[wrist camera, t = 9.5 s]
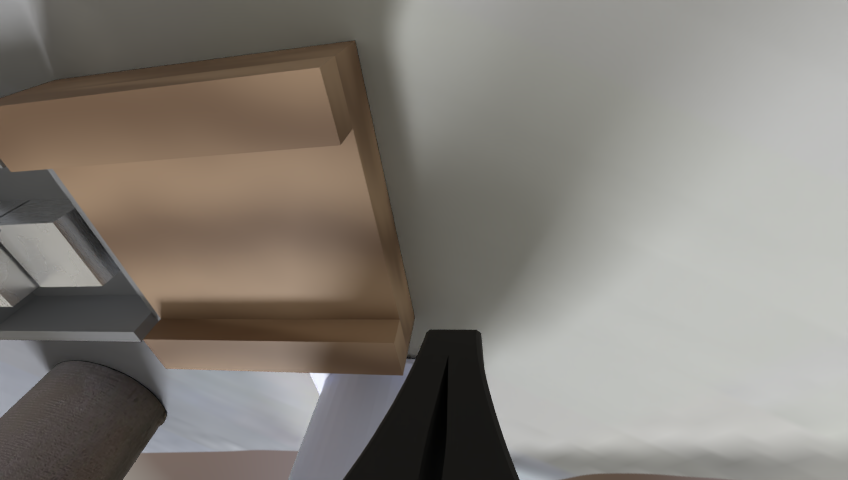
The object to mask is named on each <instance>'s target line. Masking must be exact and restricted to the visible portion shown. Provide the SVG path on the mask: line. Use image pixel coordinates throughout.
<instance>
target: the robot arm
mask: <svg viewBox="0 0 848 480" xmlns="http://www.w3.org/2000/svg"><path fill="white" fill-rule="evenodd" d="M310 376H311V378H312V380H313V382H314V384H315V386H316V388H317V390H318V392H319V394H320V396H319V399H318V402H317V404H316V407H315V410H314V412H313V415H312V418H311V420H310V423H309V426H308V428H307V431H306V433H305V436H304V439H303V441H302V444H301V447H300V449H299V452H298V455H297V457H296V460H295V463H294V465H293V468H292V471H291V473H290V476H289V479H288V480H519V477H518V475H517V472H516V470H515V467H514V465H513V462H512V459H511V457H510V454H509V451H508V449H507V446H506V443H505V440H504V437H503V434H502V431H501V428H500V425H499V422H498V419H497V416H496V413H495V409H494V406H493V402H492V399H491V395H490V391H489V388H488V384H487V379H486V375H485V370H484V360H483V349H482V338H481V333H480V332H479V331H477V330H429V331H428V332H427V333H426V336H425V338H424V341H423V343H422V346H421V348H420V350H419V353H418V355H417V357H416V359H406V363H405V368H404V373H403V376H400V375H366V374H332V373H310Z"/></svg>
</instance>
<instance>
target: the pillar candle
mask: <svg viewBox="0 0 848 480" xmlns="http://www.w3.org/2000/svg"><path fill="white" fill-rule="evenodd" d="M165 419H166V413H165V409H164V407H163V406H162V404H161V403H160V402H159V401H158V399H157V398H156V397H155V396H154V395H153V394H152V393H151V392H150V391H149V390H148V389H146V388H145V387H144V386H142V385H140V384H139V383H138V382H137V381H135V380H133V379H132V378H131V377H128V376H127V375H125V374H122V373H120V372H118V371H115V370H112V369H110V368H108V367H105V366H102V365H99V364H95V363H90V362H83V361H67V362H61V363H59V364H58V365H56V366H55V367H54V368H53V369H52V370H50V371H49V372H48V373H47V374H46V375H45V376H44V377H43V378H42V379H41V380H40V381H39V382H38V383H37V384H36V385H35V386H34V387H33V388H32V389H31V390H29V391H28V392H27V393H26V394H25V395H24V396H23V397H22V398H21V399H20V400H19V401H18V402H17V403H16V404H15V405H14V406H13V407H11V408H10V409H9V410H8V411H7V412H6V413H5V414H4V415H3V416H2V417H1V418H0V480H123V478H124V477H125V476H126V474H127V473H128V471H129V470H130V468H131V467H132V465H133V464H134V462H136V460H137V458H138V457H139V455H140V453H141V452H142V451H143V449H144V448H145V447H146V445H147V443H148V442H149V440H150V439H151V437H152V436H153V435H154V433H155V432H156V430H157V429H158V427H159V426H160V425H162V424H163V423H164V421H165Z"/></svg>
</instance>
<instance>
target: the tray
mask: <svg viewBox="0 0 848 480" xmlns="http://www.w3.org/2000/svg"><path fill="white" fill-rule="evenodd" d="M52 198H68V199H69V200H70V201H71V203H72V204H73V206H74V207H75V208H76V210H77V211H78V212H79V214H80V215H81V216H82V218H83V219H84V221H85V222H86V223H87V225H88V226H89V227H90V229H91V230H92V232H93V233H94V234H95V236H96V237H97V238H98V240H99V241H100V243H101V244H102V245H103V247H104V248H105V249H106V251H107V252H108V254H109V255H110V256H111V258H112V259H113V260H114V262H115V263H116V264H117V266H118V267H119V269H120V271H119V272H118V273H117V274H115V275H114V276H113V277H112V278H111V279H110V280H109V281H108V282H107V283H105V284H104V285H103V286H80V287H40V286H39V287H38V288H36V289H35V290H34V291H32V292H31V293H30V294H29V295H27V296H26V297H25V298H23V299H22V300H21V301H19V302H18V303H17V304H16V305H14V306H13V307H0V340H57V341H122V342H142V340H143V339H144V338H145V336H146V335H147V334H148V333H149V332H150V331H151V329H152V328H153V327H154V326H155V325H156V324H157V323H158V321H159V320H160V319H161V318H160V317H159V316H158V314H157V313H156V312H155V310H154V309H153V307H152V306H151V305H150V303H149V302H148V300H147V299H146V298H145V296H144V295H143V294H142V292H141V291H140V289H139V288H138V287H137V285H136V284H135V282H134V281H133V280H132V278H131V277H130V275H129V274H128V273H127V271H126V270H125V269H124V267H123V266H122V264H121V263H120V262H119V260H118V259H117V257H116V256H115V255H114V253H113V252H112V250H111V249H110V248H109V246H108V245H107V244H106V242H105V241H104V239H103V238H102V237H101V235H100V234H99V232H98V231H97V230H96V228H95V227H94V225H93V224H92V223H91V221H90V220H89V219H88V217H87V216H86V214H85V213H84V212H83V210H82V209H81V207H80V206H79V205H78V203H77V202H76V200H75V199H74V198H73V196H72V195H71V194H70V192H69V191H68V189H67V188H66V187H65V185H64V184H63V182H62V181H61V180H60V178H59V177H58V175H57V174H56V173H55V171H54V170H53V169H44V170H31V171H19V172H11V171H10V170H9V169H8V168H7V166H6V165H5V164H4V163H3V161H2V160H1V159H0V202H2V201H18V200H36V199H52Z"/></svg>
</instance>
